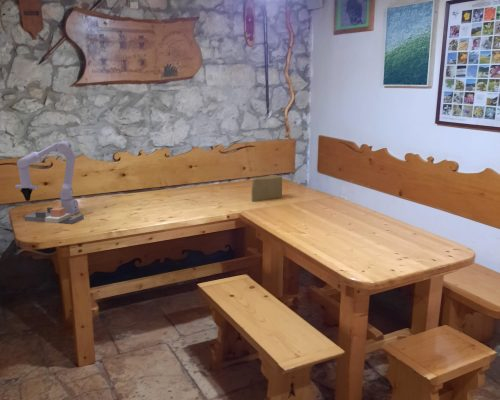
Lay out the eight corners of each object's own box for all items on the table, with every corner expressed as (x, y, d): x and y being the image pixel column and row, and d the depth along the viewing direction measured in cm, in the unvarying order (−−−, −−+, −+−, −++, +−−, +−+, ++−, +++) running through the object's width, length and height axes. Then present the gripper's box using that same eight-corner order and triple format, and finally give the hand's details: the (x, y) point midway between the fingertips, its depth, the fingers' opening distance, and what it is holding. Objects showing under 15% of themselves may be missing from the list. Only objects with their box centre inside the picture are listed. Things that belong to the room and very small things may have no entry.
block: (65, 213, 297) (65, 207, 296) (60, 216, 291) (59, 210, 290) (56, 213, 298) (55, 207, 297) (51, 216, 292) (50, 209, 291)
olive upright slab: (256, 203, 325) (256, 180, 321) (247, 200, 332) (247, 178, 329) (282, 197, 337) (282, 175, 334) (273, 195, 345) (273, 173, 341)
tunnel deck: (83, 218, 296) (82, 209, 294) (71, 224, 285) (70, 214, 284) (38, 215, 305) (36, 206, 303) (24, 220, 294) (23, 211, 293)
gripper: (39, 177, 300) (42, 199, 304) (19, 176, 304) (22, 198, 308) (31, 179, 294) (34, 202, 297) (11, 178, 298) (14, 201, 301)
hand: (27, 200), depth 302 cm, fingers closed
